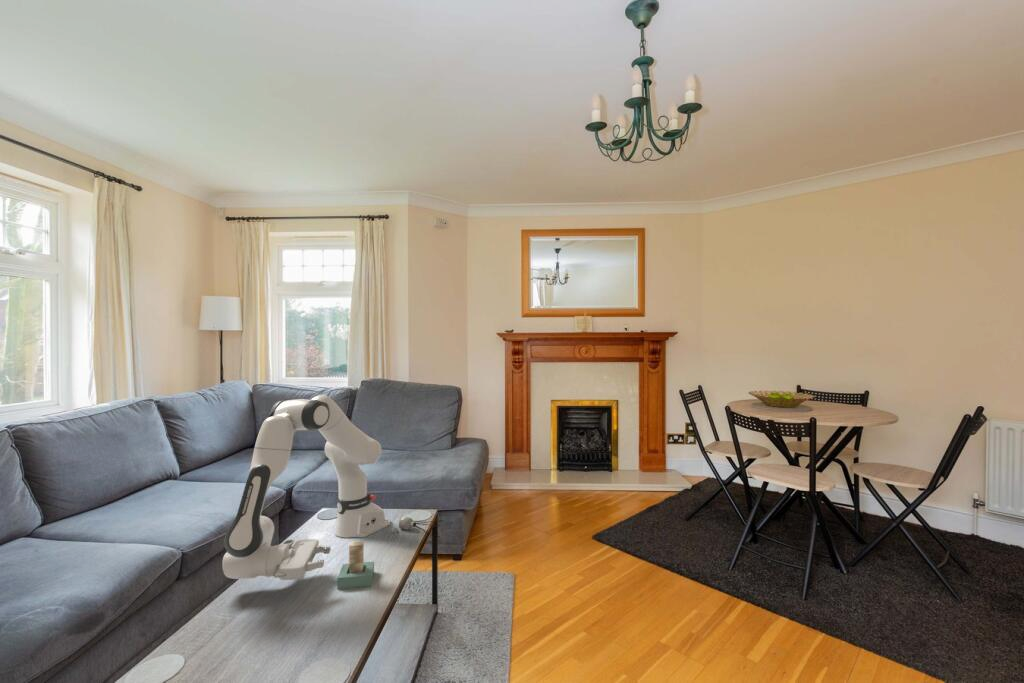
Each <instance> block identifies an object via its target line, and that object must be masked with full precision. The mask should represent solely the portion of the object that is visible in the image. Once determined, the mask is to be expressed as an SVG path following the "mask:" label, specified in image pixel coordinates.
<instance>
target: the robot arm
mask: <svg viewBox="0 0 1024 683" xmlns="http://www.w3.org/2000/svg"><path fill="white" fill-rule="evenodd" d="M316 430H317V431H318V432H319V433H320V435H322V437H323V438H324V439H325V440H326V442H325V445H324V455H325V456H326V457H327V459H329V461H330V462H331V464H332V465H333V467H334V469H335V470H334V471H335V473H336V476H337V477H336V478H337V483H338V487H337V488H338V497H337V503H336V504H337V518H336V519H337V520H336V524H335V528H334V532H333V533H334V535H335V536H336V537H339V538H365V537H367V536H369V535H372V534H374V533H376V532H378V531H381V530H382V529H384V528H386V527H389V526H390V525H391V520H390V518H388V517H385V512H384V510H383V509H382V508H383V507H382V508H381V507H380V506H379V505H377V504H376V503H374V502H372V501H375V500H376V498H377V496H376V495H374V494H369V493H367V492H368V488H367V487H368V478H367V474H366V473H365V472H364V471H363V470H362V469H361V467H360V466H359V465H361V466H366V465H373V464H375V463H376V462H378V461H379V459H380V457H381V456H382V446H381V443H380V442H379V441H378V440H376V439H374V438H372V437H370V436H369V435H367V434H366V432H363V431H362V430H361V429H360V428H358V427H357V426H355V425H354V424H353V423H352V422H351V420H350V419H349V418H348V416H347V415H346V414H345V413H344V411H343V409H342V408H340V406H339V405H338V404H337V403H336V401H334V400H333V399H332V398H331V397H330V396H328V395H326V394H318V395H315V396H313V397H312V398H311V399H306V398H298V399H283V400H279V401H277V402H275V403H274V404H273V406H271V409H270V411H269V414H268V417H267V418H265V419H264V421H263V422H262V424H261V426H260V428H259V431H258V435H257V437H256V441H255V443H254V444H255V445H254V448H253V453H252V459H251V463H250V468H249V471H248V476H247V478H246V482H245V486H244V489H243V493H242V495H241V500H240V503H239V507H238V511H237V513H236V516H235V519H234V520H233V522H232V524H231V525H230V526H229V528H228V529H227V531H226V533H225V535H224V540H223V545H224V548H225V550H226V552H225V554H224V555H223V558H222V563H221V569H222V572H223V574H224V576H225V577H227V578H228V579H233V580H248V579H255V578H258V577H266V578H272V577H274V578H276V579H277V578H279V580H282V581H283V580H284V581H286V580H287V581H290V580H291V581H294V580H297V581H298V580H301V579H303V578H305V576H306V573H307V572H310V571H311V572H312V571H314V570H316V569H321V568H323V567H324V566H325V560H324V559H318V560H317V561H313V560H314V558H315V557H316V555H317V554H320V553H322V554H324V555H326V554H327V555H328V554H330V552H331V551H332V550H331V546H330V545H329V546H324V545H321V544H319V539H314V538H309V539H306V538H305V539H303V538H302V539H298V540H295V539H294V538H290V539H287V540H285V541H283V542H282V543H280V544H277V545H272V542H273V537H274V534H275V523H274V521H273V520H272V519H271V518H270V517H268V516H266V515H262V512H263V508H264V504H265V500H266V497H267V493H268V490H269V489H270V487H271V485H272V484H273V482H275V480H277V479H278V477H279V476H281V475H282V473H284V472H285V470H286V468H287V466H288V464H289V460H290V458H291V453H292V447H293V441H294V439H293V438H294V435H295V434H296V433H297V431H316ZM388 525H389V526H388Z"/></svg>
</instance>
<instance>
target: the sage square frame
mask: <svg viewBox="0 0 1024 683" xmlns="http://www.w3.org/2000/svg"><path fill="white" fill-rule="evenodd" d="M374 572H375V561H365V562H364V563H363V572H361V573H350V574H349V563H343V564H342V566H341V569H340V570H339V573H338V576H337V590H342V589H343V590H344V589H345V590H346V589H354V588H364V587H371V586H372V582H373V577H374Z"/></svg>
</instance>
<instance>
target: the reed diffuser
mask: <svg viewBox="0 0 1024 683" xmlns="http://www.w3.org/2000/svg"><path fill="white" fill-rule="evenodd" d="M434 522H435V523H436V522H437V523H438V522H444V520H443V519H441V520H433V521H424V522H423V521H422V522H420V525H422V526H423V525H424V526H430V524H427V523H434ZM418 525H419V522H415V521H414V520H413V519H412V518H411V517H405V516H402V517H401V518H400V519H399V521H398V527H393V529H392V533H393V532H397V533H398V532H399V529H401V530H405V531H409V530H411V529H412V528H417V529H419V530H421V531H423V532H424V533H425V534H428V535H429V536H431V537H433V536H436V537H438V538H440V536H439V535H438V534H437V535H436V534H435V533H432V532H430V531H428V530H427V529H424V528H422V527H420V526H418ZM431 526H432V527H433V526H436V527H440V525H439V524H438V525H437V524H431ZM398 528H399V529H398Z"/></svg>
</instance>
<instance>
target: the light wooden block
mask: <svg viewBox="0 0 1024 683" xmlns="http://www.w3.org/2000/svg"><path fill="white" fill-rule="evenodd" d="M364 543H365V542H364V540H361V541H351V542H350V543H349V551H348V552H349V555H348V556H349V557H348V558H349V560H348V564H349V574H350V573H361V572H363V563H364V560H365V559H364V548H365V547H364Z"/></svg>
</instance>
